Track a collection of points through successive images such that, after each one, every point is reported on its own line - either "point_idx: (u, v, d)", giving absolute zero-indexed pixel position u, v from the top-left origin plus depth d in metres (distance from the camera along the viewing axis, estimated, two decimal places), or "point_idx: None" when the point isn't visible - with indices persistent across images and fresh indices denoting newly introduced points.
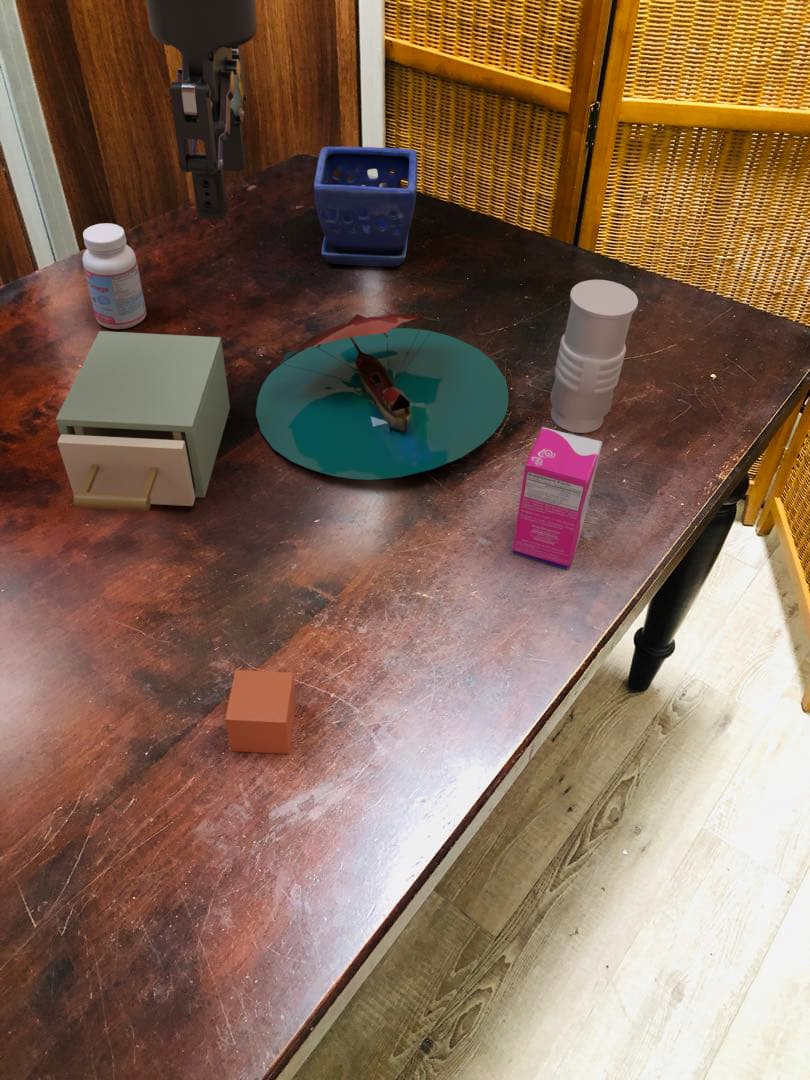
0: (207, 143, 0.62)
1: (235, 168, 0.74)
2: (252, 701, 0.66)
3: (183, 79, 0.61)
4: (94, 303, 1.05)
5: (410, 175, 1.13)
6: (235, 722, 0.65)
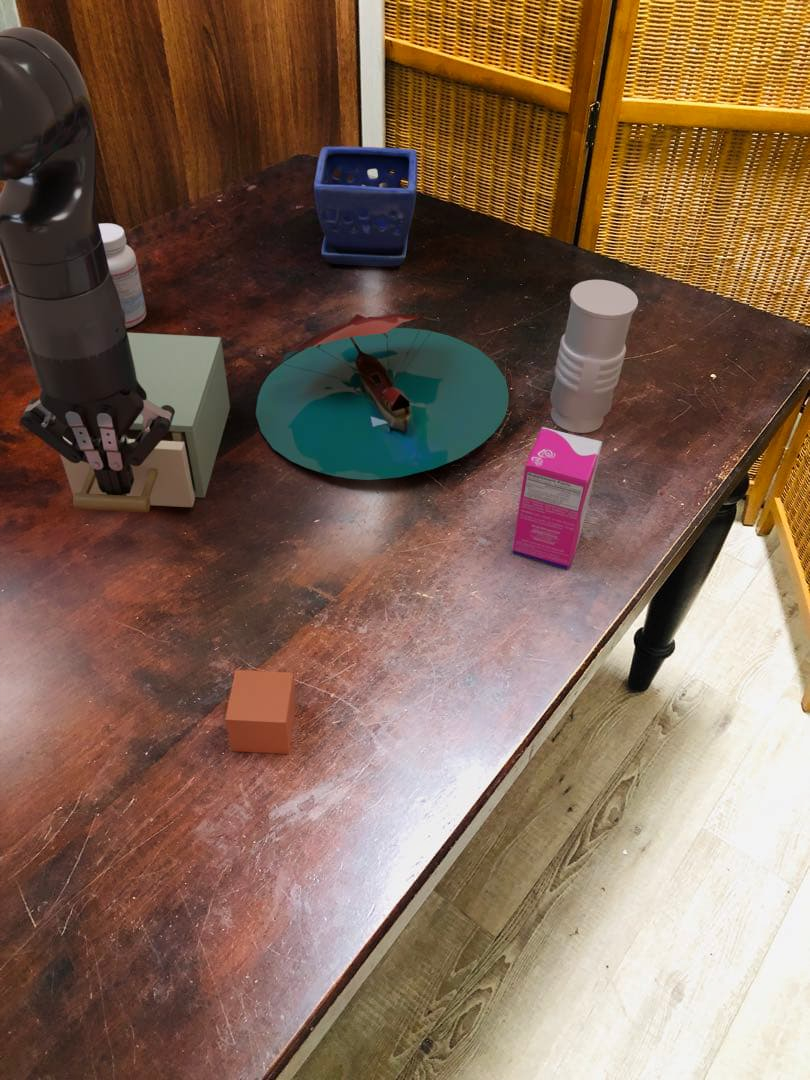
0: None
1: None
2: (252, 701, 0.66)
3: (138, 404, 0.72)
4: None
5: (410, 175, 1.13)
6: (235, 722, 0.65)
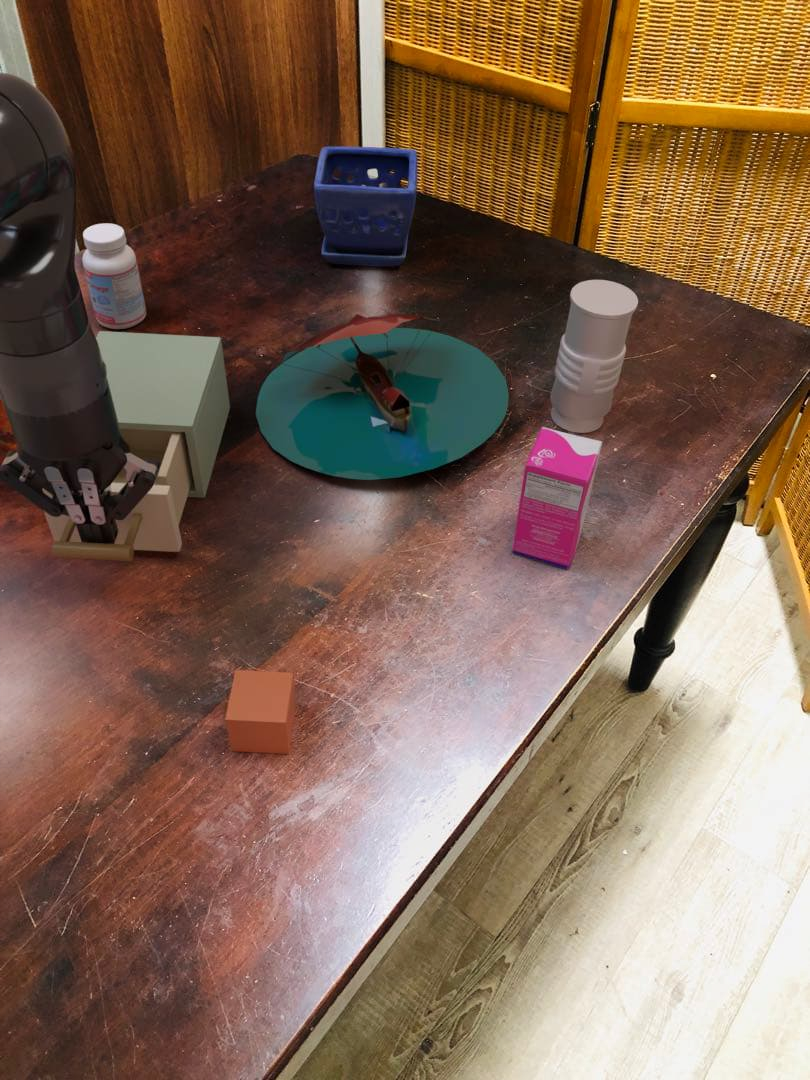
0: None
1: None
2: (252, 701, 0.66)
3: (121, 459, 0.68)
4: (94, 303, 1.05)
5: (410, 175, 1.13)
6: (235, 722, 0.65)
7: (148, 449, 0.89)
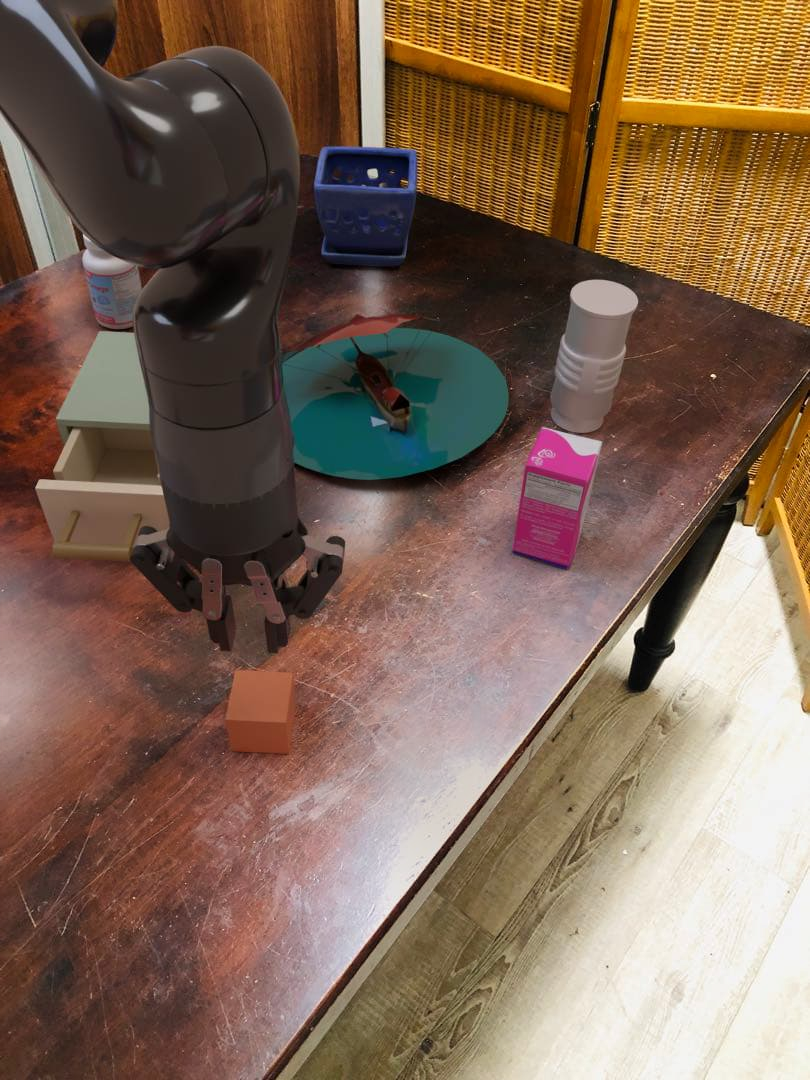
0: None
1: (234, 635, 0.62)
2: (252, 701, 0.66)
3: (300, 548, 0.53)
4: (94, 303, 1.05)
5: (410, 175, 1.13)
6: (235, 722, 0.65)
7: (148, 449, 0.89)
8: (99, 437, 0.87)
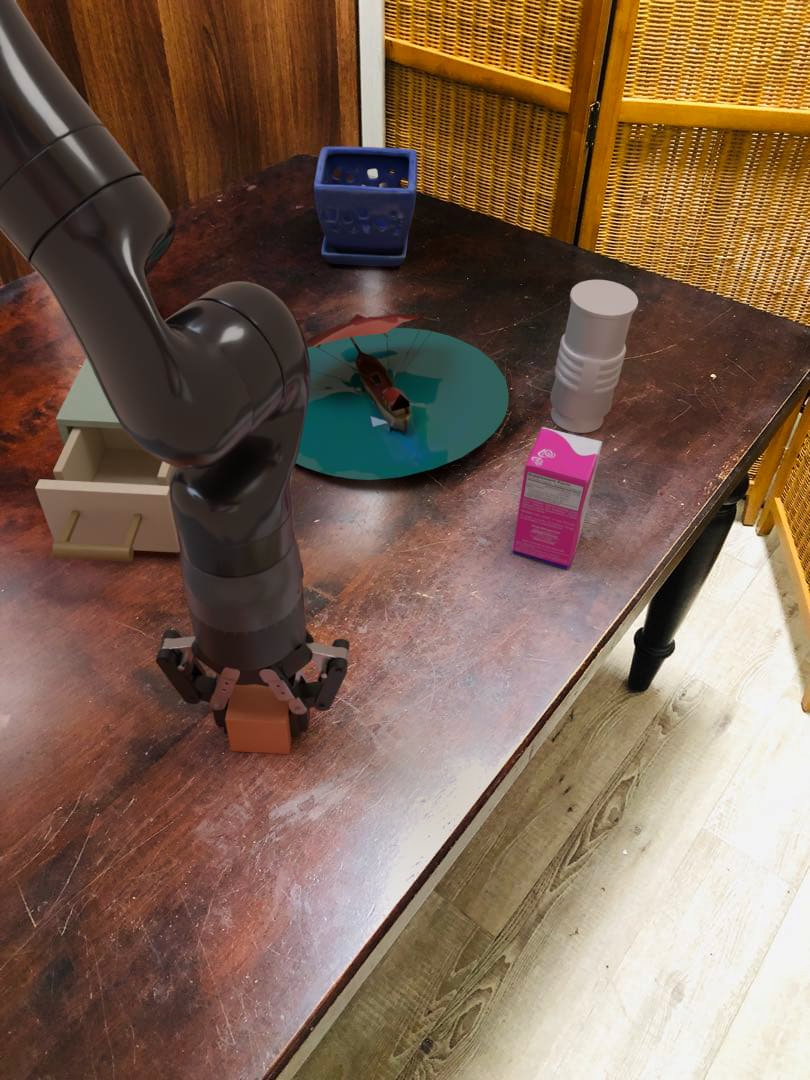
0: None
1: None
2: (252, 701, 0.66)
3: (308, 657, 0.61)
4: None
5: (410, 175, 1.13)
6: (235, 722, 0.65)
7: None
8: (99, 437, 0.87)
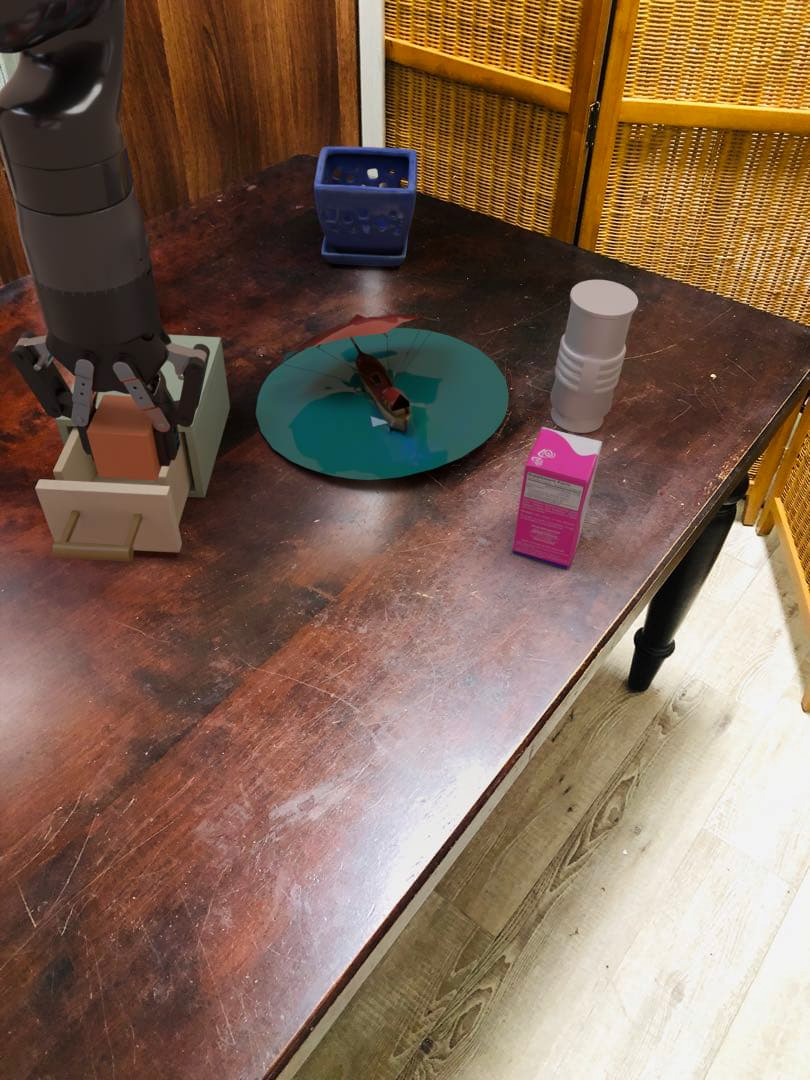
0: None
1: None
2: (116, 418, 0.66)
3: (162, 353, 0.61)
4: None
5: (410, 175, 1.13)
6: (97, 436, 0.65)
7: None
8: None
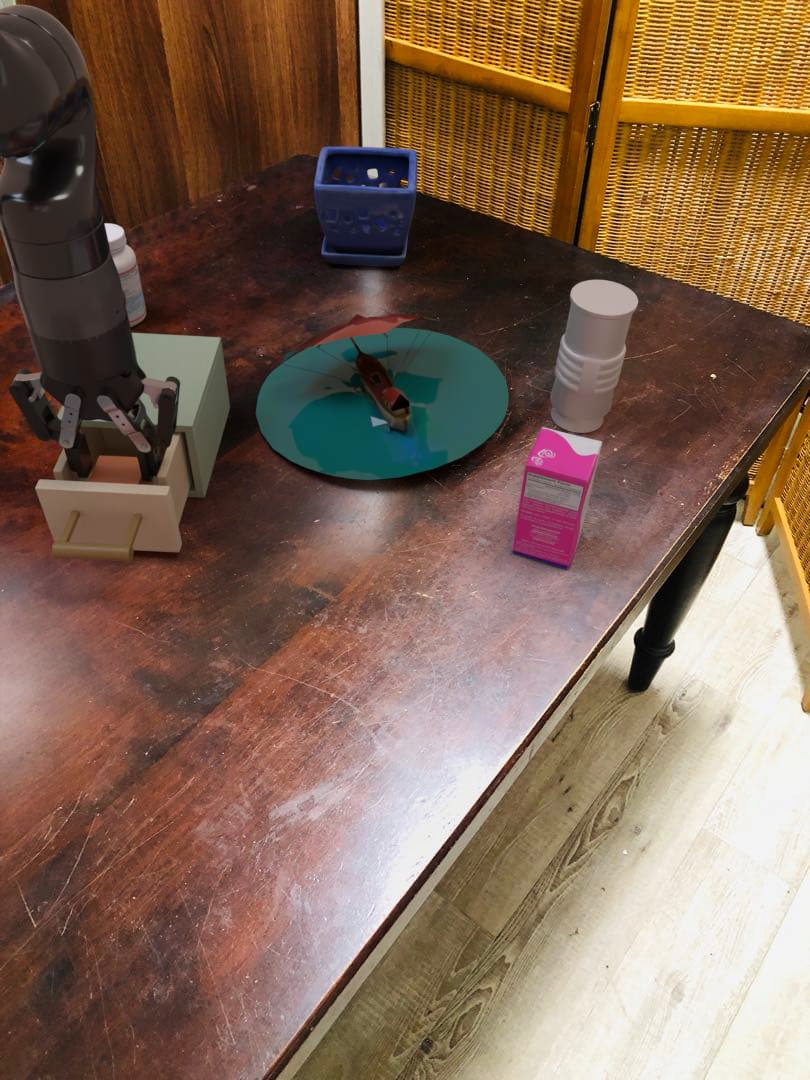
0: None
1: (90, 467, 0.80)
2: (110, 476, 0.79)
3: (138, 387, 0.72)
4: None
5: (410, 175, 1.13)
6: None
7: None
8: (99, 437, 0.87)
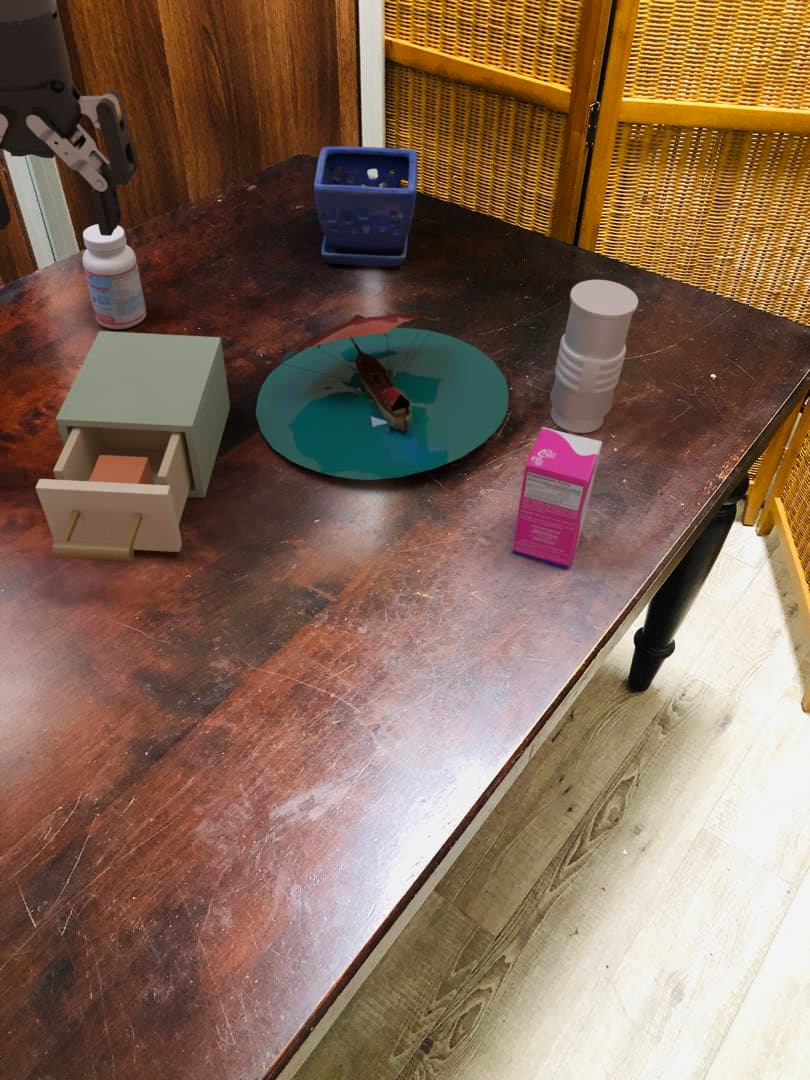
0: (130, 143, 0.67)
1: (8, 220, 0.71)
2: (110, 475, 0.80)
3: (74, 107, 0.63)
4: (94, 303, 1.05)
5: (410, 175, 1.13)
6: None
7: (148, 449, 0.89)
8: (99, 437, 0.87)
